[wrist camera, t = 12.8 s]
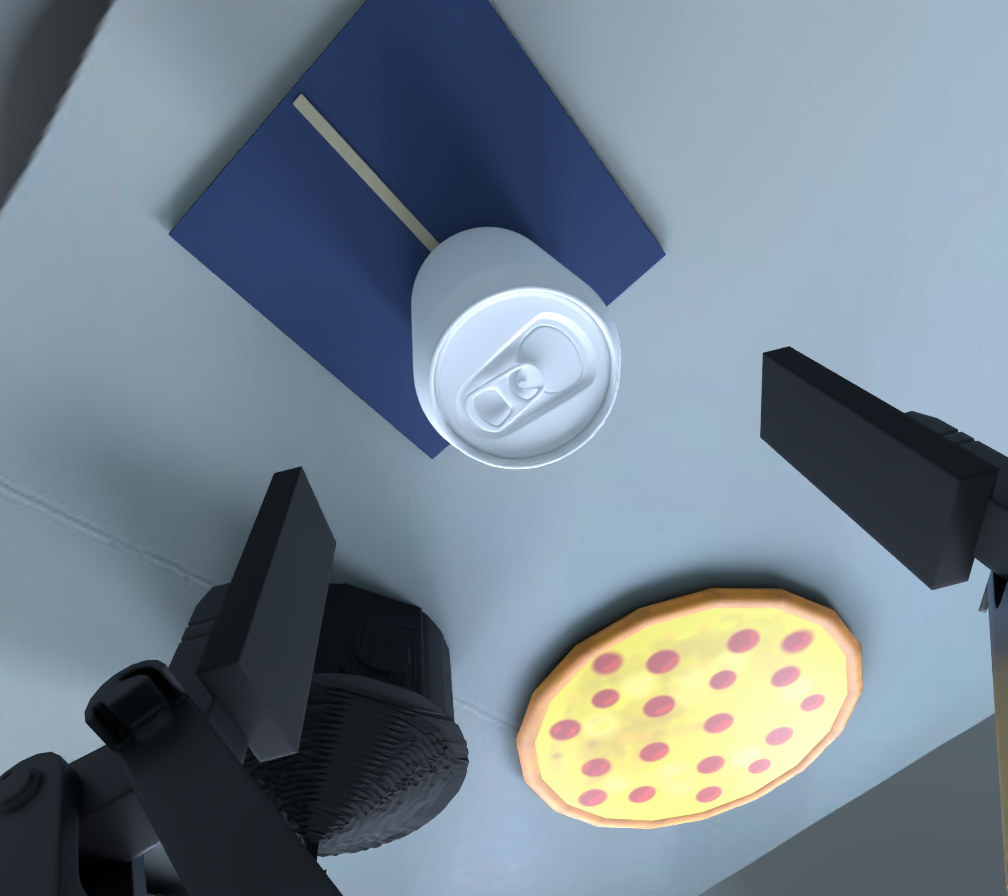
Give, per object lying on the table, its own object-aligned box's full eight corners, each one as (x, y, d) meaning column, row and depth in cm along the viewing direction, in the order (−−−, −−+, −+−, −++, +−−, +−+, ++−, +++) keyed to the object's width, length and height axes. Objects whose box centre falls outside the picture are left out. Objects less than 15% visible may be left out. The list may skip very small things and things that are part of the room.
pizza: (448, 778, 52) (449, 791, 51) (682, 523, 41) (688, 533, 40) (695, 845, 63) (700, 856, 62) (927, 659, 53) (937, 669, 52)
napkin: (171, 233, 28) (167, 234, 28) (432, -76, 24) (433, -79, 24) (432, 456, 36) (432, 460, 36) (663, 253, 32) (666, 254, 31)
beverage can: (585, 315, 33) (670, 396, 22) (473, 400, 34) (503, 515, 23) (501, 190, 29) (555, 217, 18) (379, 291, 30) (364, 370, 20)
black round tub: (501, 622, 44) (538, 830, 31) (396, 764, 50) (388, 986, 37) (260, 540, 37) (177, 758, 24) (174, 714, 44) (72, 961, 31)
